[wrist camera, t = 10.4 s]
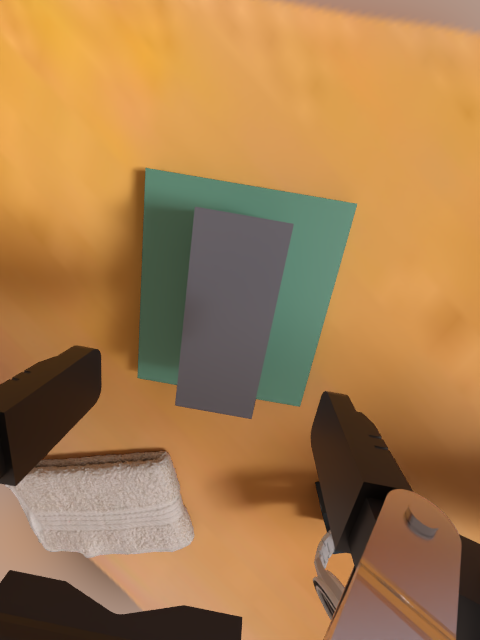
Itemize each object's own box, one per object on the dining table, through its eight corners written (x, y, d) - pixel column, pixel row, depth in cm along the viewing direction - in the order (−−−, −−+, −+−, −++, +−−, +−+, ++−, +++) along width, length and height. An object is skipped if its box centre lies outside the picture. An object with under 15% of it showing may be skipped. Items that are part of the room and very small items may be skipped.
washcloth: (14, 456, 29) (-13, 482, 26) (172, 442, 27) (162, 467, 24) (56, 532, 33) (36, 562, 30) (198, 524, 31) (192, 555, 28)
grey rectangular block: (210, 211, 18) (193, 206, 13) (284, 224, 18) (294, 223, 13) (192, 367, 22) (174, 405, 17) (252, 378, 22) (251, 418, 17)
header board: (351, 205, 19) (380, 198, 14) (297, 398, 24) (307, 437, 19) (152, 171, 19) (119, 154, 14) (143, 371, 24) (117, 403, 20)
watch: (295, 485, 27) (318, 643, 17) (377, 472, 26) (457, 635, 16) (307, 523, 29) (334, 689, 19) (384, 513, 28) (460, 684, 17)
